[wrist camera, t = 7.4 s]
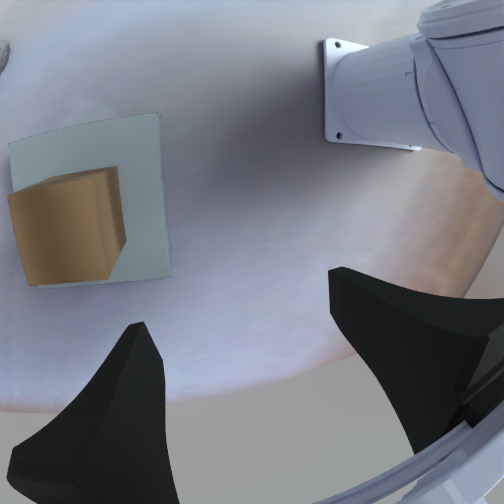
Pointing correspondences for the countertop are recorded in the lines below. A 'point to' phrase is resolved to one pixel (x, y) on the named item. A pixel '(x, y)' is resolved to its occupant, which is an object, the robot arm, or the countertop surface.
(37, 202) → the walnut block
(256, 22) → the countertop surface
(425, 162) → the countertop surface
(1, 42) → the stone block
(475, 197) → the countertop surface
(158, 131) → the base slab
